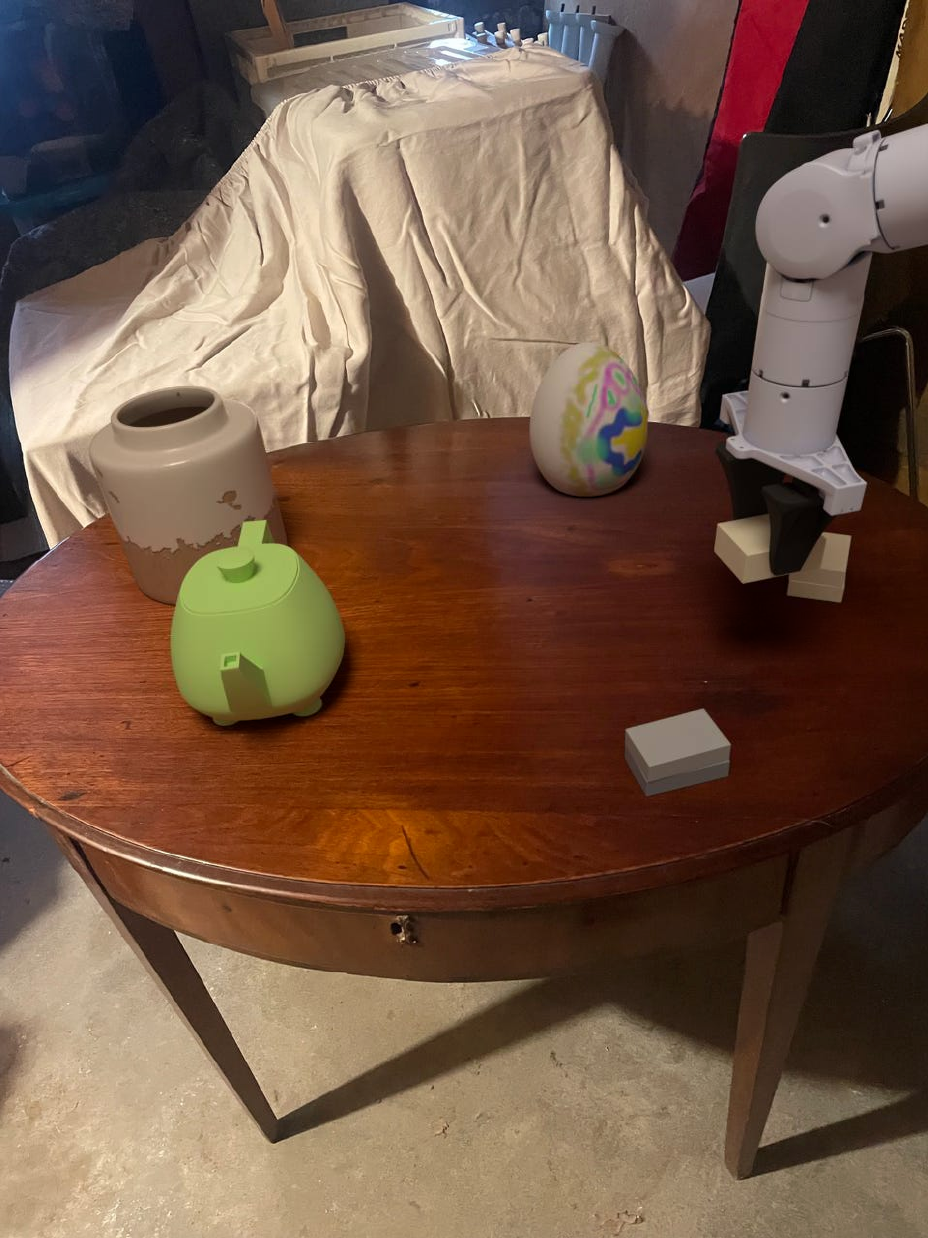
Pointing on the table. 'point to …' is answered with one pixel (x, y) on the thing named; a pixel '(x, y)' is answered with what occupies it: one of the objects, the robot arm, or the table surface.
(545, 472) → the decorative egg
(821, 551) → the cream rectangular block
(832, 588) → the cream seamed block
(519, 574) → the table surface
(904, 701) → the table surface
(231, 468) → the vase
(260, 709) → the teapot
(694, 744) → the grey box
